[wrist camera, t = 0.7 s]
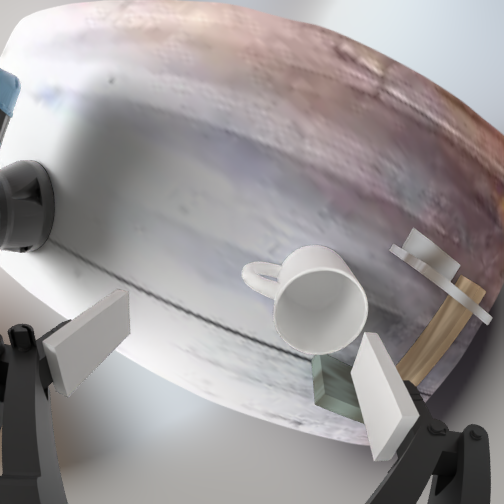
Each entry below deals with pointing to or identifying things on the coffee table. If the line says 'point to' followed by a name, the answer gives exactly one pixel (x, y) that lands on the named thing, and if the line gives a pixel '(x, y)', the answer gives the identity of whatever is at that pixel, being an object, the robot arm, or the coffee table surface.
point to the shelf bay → (429, 342)
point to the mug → (312, 299)
